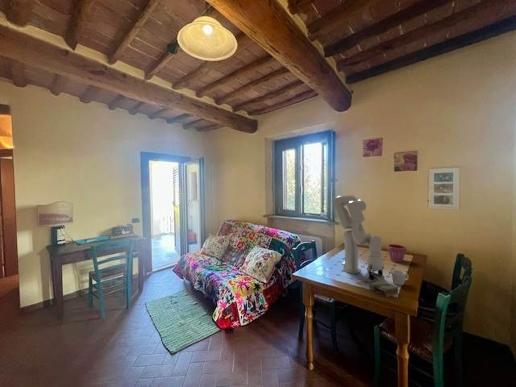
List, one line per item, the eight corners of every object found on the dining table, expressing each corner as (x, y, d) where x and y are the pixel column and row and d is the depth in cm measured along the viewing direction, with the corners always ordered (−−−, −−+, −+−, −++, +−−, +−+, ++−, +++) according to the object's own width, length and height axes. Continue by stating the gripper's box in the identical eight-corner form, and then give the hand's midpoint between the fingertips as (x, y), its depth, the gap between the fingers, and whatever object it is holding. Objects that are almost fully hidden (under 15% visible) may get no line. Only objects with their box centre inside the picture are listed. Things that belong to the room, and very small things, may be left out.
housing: (365, 279, 159) (365, 273, 159) (371, 278, 162) (371, 271, 162) (379, 285, 151) (379, 277, 151) (384, 283, 154) (384, 276, 153)
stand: (369, 289, 145) (369, 282, 144) (379, 285, 149) (379, 279, 149) (388, 297, 134) (388, 290, 134) (398, 293, 139) (398, 286, 139)
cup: (404, 280, 156) (404, 269, 156) (412, 286, 148) (412, 274, 148) (389, 281, 156) (389, 270, 156) (396, 286, 148) (396, 274, 148)
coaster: (353, 282, 156) (354, 281, 156) (360, 279, 159) (360, 279, 159) (362, 285, 150) (362, 285, 150) (369, 283, 153) (369, 283, 153)
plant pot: (410, 261, 193) (410, 247, 193) (398, 264, 188) (398, 249, 188) (394, 257, 207) (394, 243, 206) (383, 259, 202) (383, 245, 201)
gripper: (378, 250, 163) (378, 274, 163) (362, 254, 155) (362, 279, 155) (388, 252, 156) (388, 277, 156) (372, 257, 148) (373, 282, 148)
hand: (375, 278), depth 156 cm, fingers open, 9 cm apart
